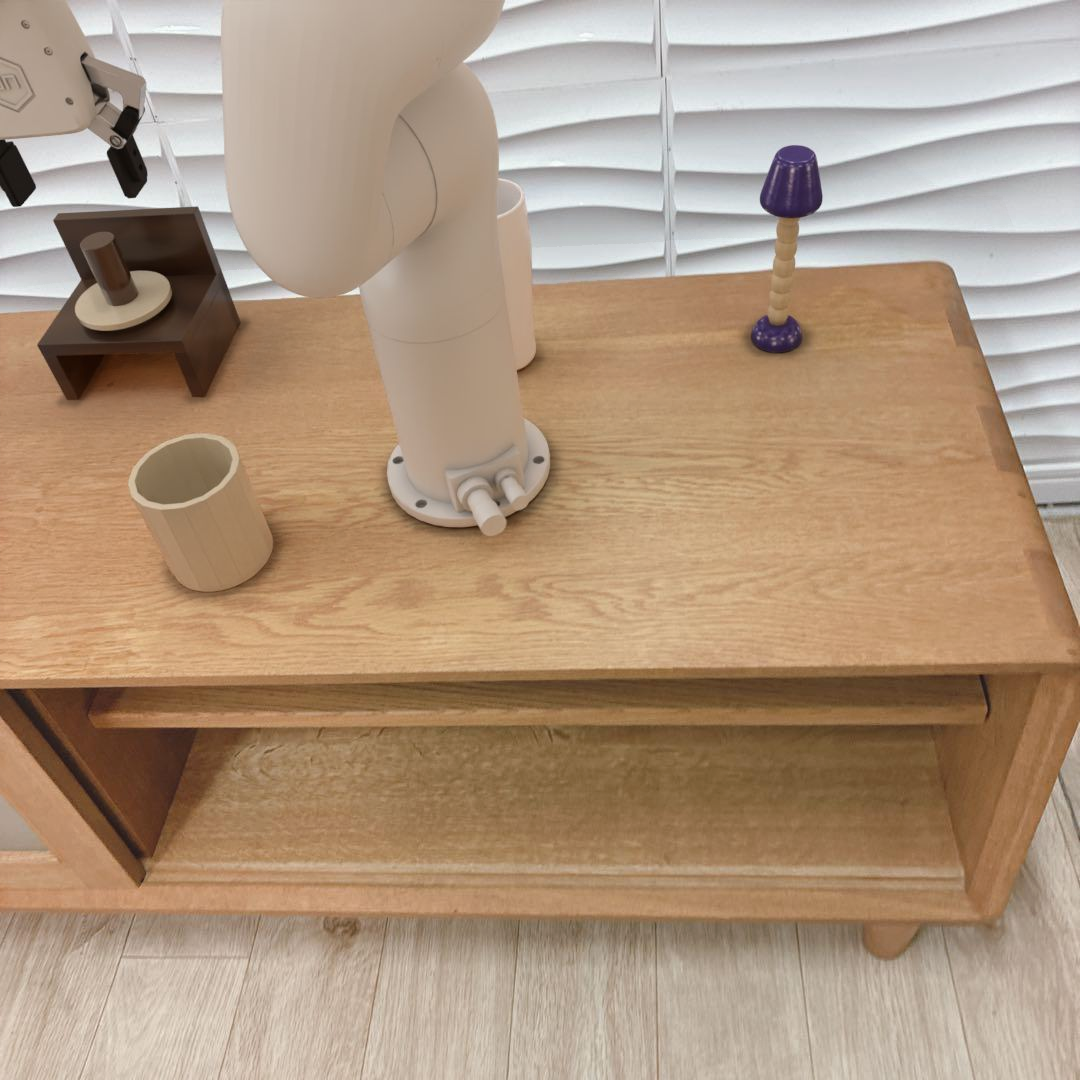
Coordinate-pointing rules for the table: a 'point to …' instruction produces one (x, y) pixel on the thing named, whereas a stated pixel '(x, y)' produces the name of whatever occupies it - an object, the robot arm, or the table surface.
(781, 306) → the toy lamp
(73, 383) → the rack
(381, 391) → the table surface
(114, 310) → the lid
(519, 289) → the drinking glass
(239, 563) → the pot
